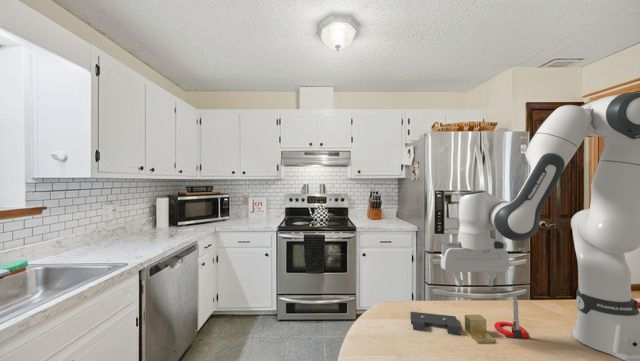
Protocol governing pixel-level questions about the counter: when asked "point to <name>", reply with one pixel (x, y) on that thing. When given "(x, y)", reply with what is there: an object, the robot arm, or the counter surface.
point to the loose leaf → (477, 328)
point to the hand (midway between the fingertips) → (474, 285)
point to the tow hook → (513, 325)
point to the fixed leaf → (435, 322)
